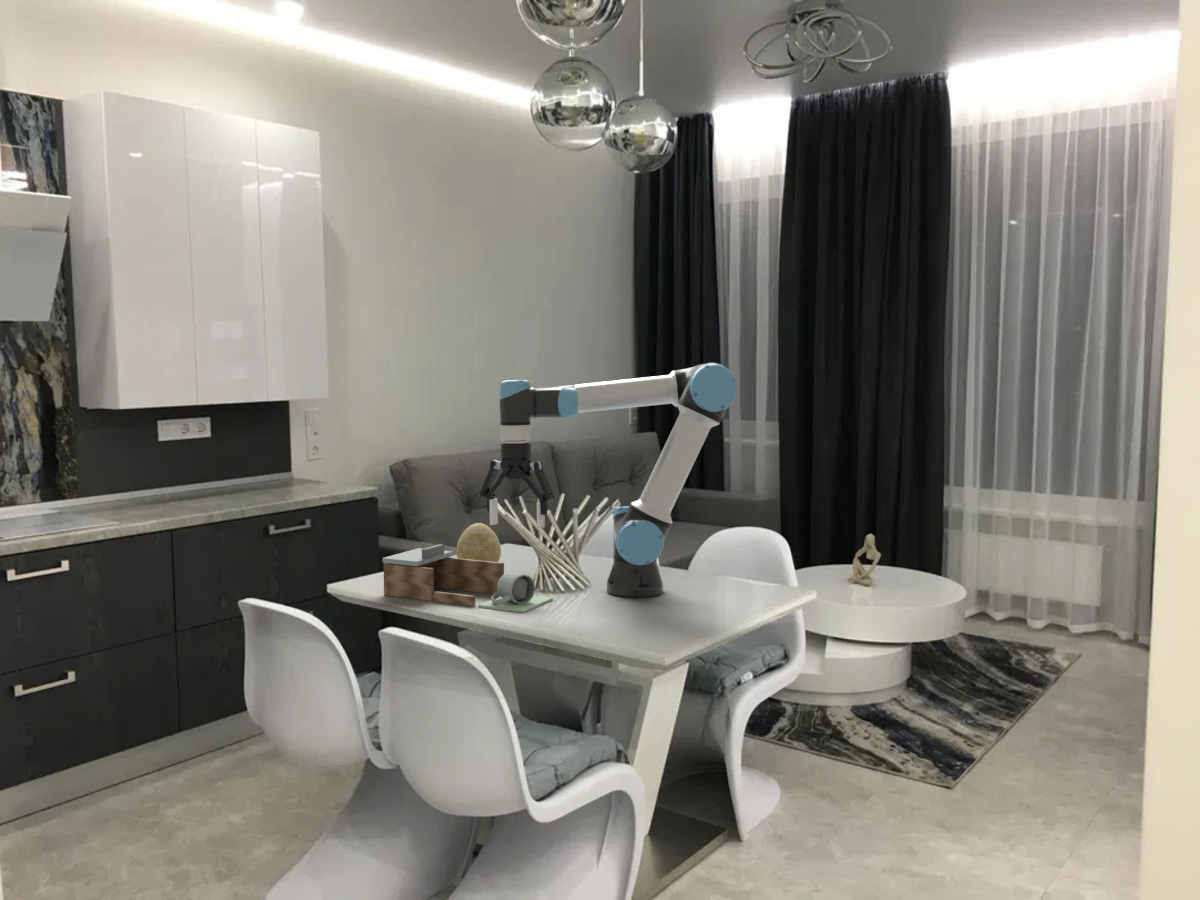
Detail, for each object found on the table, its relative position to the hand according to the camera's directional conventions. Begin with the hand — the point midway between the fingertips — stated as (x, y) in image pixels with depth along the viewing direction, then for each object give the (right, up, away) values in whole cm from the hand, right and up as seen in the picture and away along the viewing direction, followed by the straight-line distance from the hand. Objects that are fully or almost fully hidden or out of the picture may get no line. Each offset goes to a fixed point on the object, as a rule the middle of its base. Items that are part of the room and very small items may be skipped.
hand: (517, 526), depth 251 cm
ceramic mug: (-1, -19, 0) cm, 20 cm away
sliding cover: (-27, -10, +14) cm, 32 cm away
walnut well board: (-20, -19, +11) cm, 30 cm away
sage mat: (0, -20, +2) cm, 20 cm away
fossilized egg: (-14, -17, +37) cm, 43 cm away
